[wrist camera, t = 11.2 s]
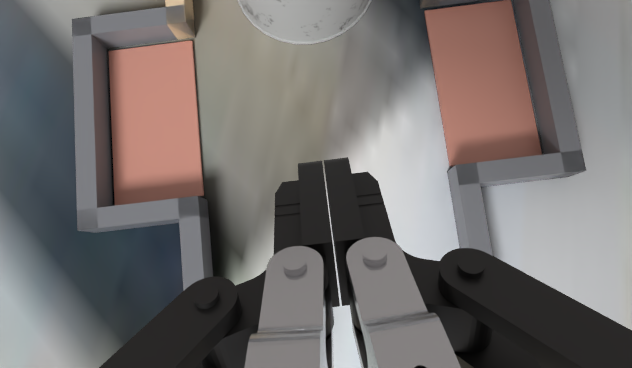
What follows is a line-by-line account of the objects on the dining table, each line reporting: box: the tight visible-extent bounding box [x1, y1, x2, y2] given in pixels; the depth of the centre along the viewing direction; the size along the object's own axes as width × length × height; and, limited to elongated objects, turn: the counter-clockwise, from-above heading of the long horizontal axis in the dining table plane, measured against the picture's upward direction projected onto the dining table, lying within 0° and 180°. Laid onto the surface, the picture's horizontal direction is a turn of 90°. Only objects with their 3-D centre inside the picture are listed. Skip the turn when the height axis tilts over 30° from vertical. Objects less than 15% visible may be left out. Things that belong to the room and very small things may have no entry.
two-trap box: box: [72, 0, 586, 290], centre depth 29 cm, size 29×29×2 cm
